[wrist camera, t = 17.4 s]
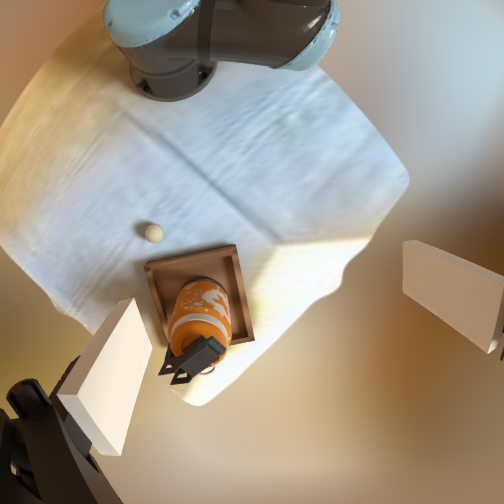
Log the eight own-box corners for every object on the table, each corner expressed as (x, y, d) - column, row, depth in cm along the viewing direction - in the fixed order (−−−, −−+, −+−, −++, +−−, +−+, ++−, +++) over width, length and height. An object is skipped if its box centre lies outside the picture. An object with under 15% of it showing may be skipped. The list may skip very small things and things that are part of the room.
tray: (147, 262, 48) (143, 266, 46) (235, 244, 49) (236, 248, 47) (174, 347, 53) (172, 354, 51) (253, 333, 54) (254, 340, 52)
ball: (145, 224, 47) (140, 227, 44) (162, 220, 47) (159, 223, 44) (149, 242, 48) (145, 246, 44) (167, 238, 48) (163, 242, 45)
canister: (238, 300, 51) (250, 367, 32) (195, 335, 52) (187, 410, 33) (203, 265, 49) (196, 320, 30) (160, 304, 50) (134, 370, 31)
